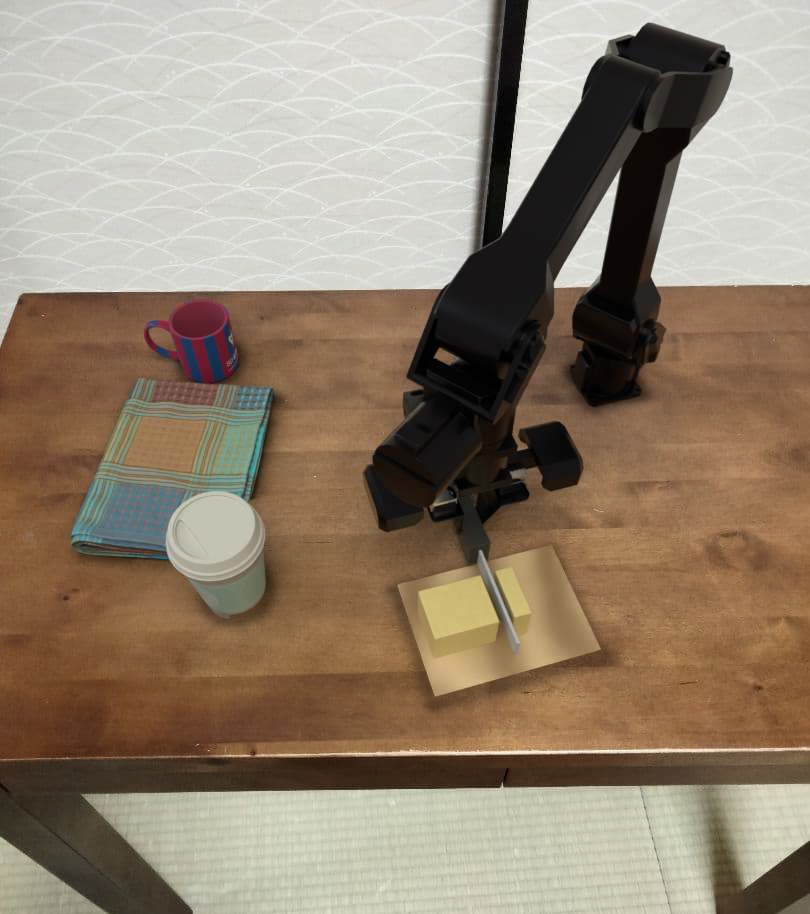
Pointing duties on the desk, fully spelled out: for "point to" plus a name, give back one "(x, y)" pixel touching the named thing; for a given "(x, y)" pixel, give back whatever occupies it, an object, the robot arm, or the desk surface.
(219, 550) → the coffee cup
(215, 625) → the desk surface
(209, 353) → the cup
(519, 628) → the butter slice
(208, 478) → the dish towel
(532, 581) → the board
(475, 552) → the knife
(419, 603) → the butter block
